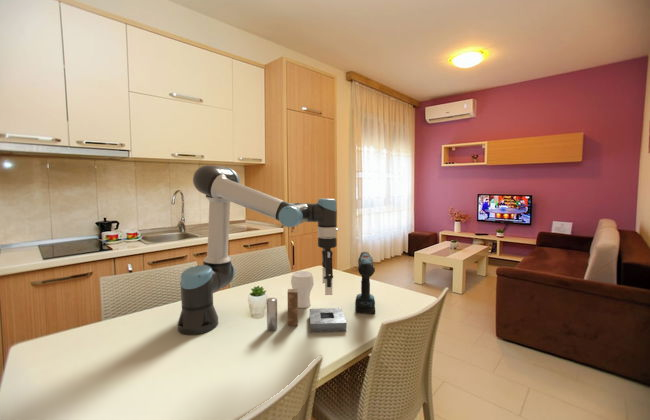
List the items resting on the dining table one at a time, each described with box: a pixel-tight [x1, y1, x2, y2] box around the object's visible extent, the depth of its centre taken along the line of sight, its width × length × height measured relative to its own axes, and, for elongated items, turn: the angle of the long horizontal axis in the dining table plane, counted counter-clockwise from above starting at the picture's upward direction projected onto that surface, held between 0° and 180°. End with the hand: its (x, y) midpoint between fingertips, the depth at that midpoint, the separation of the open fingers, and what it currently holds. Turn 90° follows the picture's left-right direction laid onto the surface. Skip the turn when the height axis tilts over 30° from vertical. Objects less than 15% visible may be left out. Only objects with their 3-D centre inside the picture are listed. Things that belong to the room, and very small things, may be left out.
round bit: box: [266, 297, 278, 333], centre depth 117 cm, size 4×4×12 cm
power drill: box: [355, 251, 376, 315], centre depth 137 cm, size 9×23×25 cm, turn 174°
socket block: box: [309, 307, 348, 334], centre depth 122 cm, size 14×14×4 cm
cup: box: [290, 270, 315, 309], centre depth 141 cm, size 11×11×15 cm
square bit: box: [287, 288, 299, 327], centre depth 121 cm, size 4×4×14 cm
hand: (327, 288), depth 121 cm, fingers open, 13 cm apart
